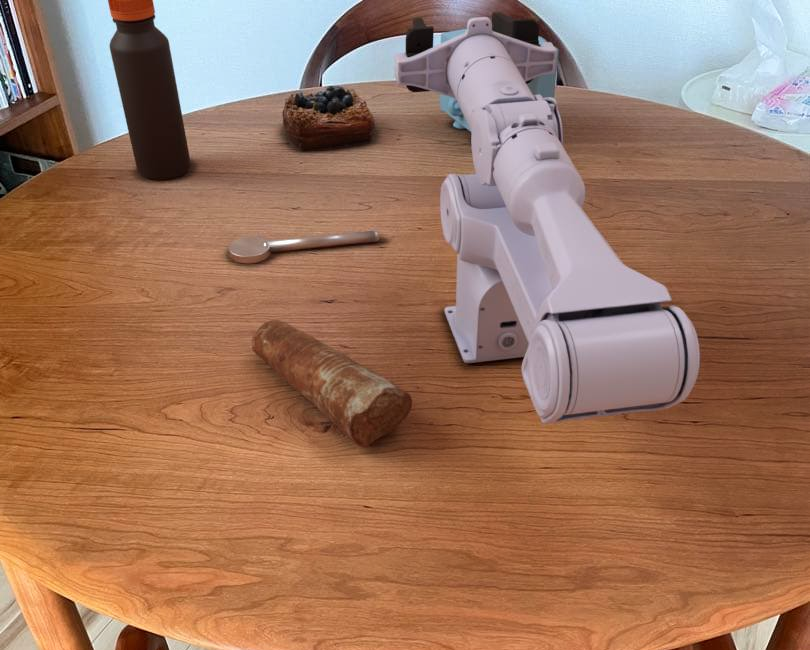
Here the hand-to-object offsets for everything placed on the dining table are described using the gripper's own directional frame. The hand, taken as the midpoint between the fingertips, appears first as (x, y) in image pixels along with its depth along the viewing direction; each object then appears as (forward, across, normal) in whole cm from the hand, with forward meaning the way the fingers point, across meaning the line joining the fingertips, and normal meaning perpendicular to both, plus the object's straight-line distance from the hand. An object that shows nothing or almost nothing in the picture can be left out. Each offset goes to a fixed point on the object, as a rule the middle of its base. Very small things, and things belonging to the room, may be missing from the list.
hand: (455, 26), depth 87 cm
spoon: (-1, +17, +22) cm, 28 cm away
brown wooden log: (-29, +18, +20) cm, 39 cm away
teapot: (+24, -13, +24) cm, 36 cm away
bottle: (+23, +32, +24) cm, 46 cm away
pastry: (+30, +10, +25) cm, 40 cm away
